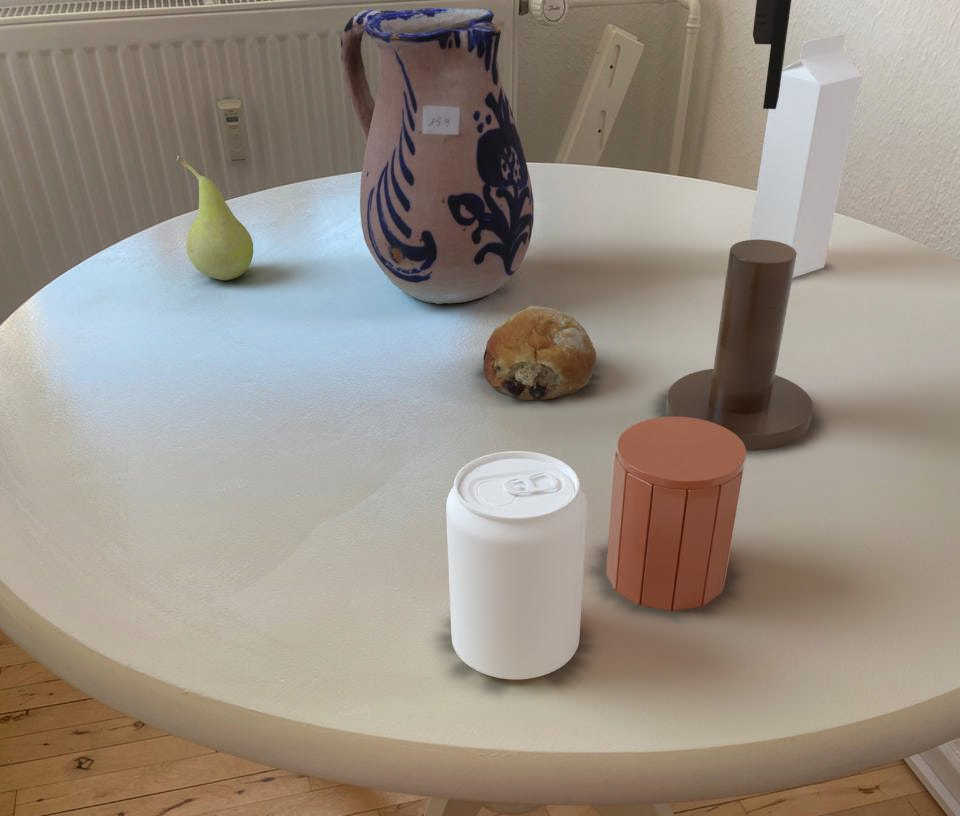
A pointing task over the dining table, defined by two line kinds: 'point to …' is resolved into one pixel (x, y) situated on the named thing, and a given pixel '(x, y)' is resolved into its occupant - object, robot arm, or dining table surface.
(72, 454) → the dining table surface
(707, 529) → the ribbed orange cylinder
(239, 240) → the fruit
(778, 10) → the robot arm
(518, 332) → the bread roll
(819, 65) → the milk
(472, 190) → the ceramic pitcher
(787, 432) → the towel holder
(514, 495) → the beverage can
